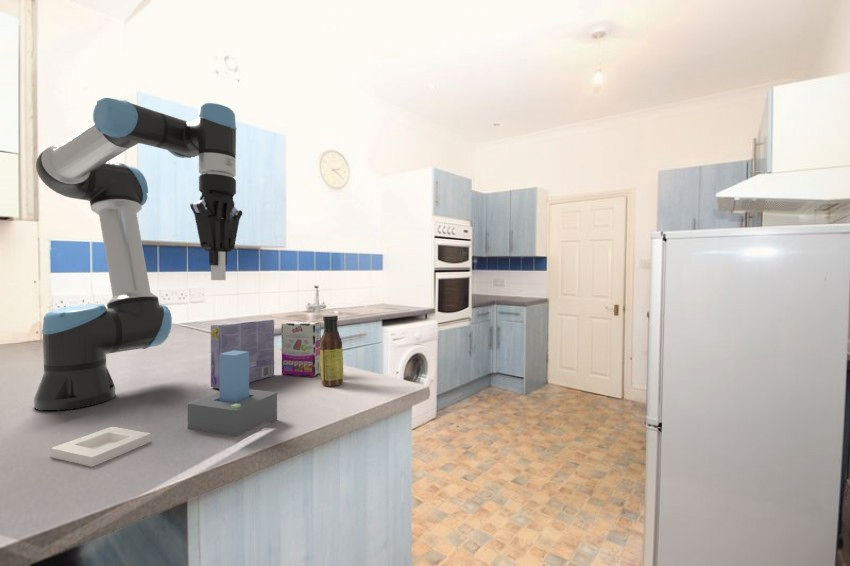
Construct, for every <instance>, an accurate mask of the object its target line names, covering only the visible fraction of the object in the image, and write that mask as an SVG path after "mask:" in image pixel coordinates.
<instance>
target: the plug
mask: <svg viewBox="0 0 850 566" xmlns="http://www.w3.org/2000/svg"><path fill="white" fill-rule="evenodd" d="M249 389H250V383H249V352H247V351H236V350H233V351H229V352H225V353H221V354H219V389H218V390H219V391H218V392H219V401H221V402H228V403H237V402H240V401H242V400H245V399H247V398H249Z"/></svg>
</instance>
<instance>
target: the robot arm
mask: <svg viewBox="0 0 850 566" xmlns="http://www.w3.org/2000/svg"><path fill="white" fill-rule="evenodd" d="M92 111H93V112H92V120H93V122H92V123H90V124H89V125H87V126H86V127H84V128H83V129H82V130H80V131H79V132H77V133H76V134H75V135H73V136H72V137H70V138H69V139H67V140H66V141H64V142H63V143H62V144H55V145H51V146H49V147H46V149H44V150H43V151H42V152H41V153H40V154H39V156H38V157H37V158H36V162H35V164H36V165H35V168H36V172H37V175H38V177H39V179H40V180H41V181H42V182H43V184H45V185H46V187H48V188H49V189H50V190H52V191H53V192H55V193H57V194H59V195H61V196H62V197H67V198H70V199H75V200H76V199H77V200H84V201H88V202H89V205H90V209H91V211H92V212H93V213H95V214H96V215H98V217H99V221H100V222H99V223H100V228H101V234H102V241H103V246H104V252H105V258H106V264H107V271H108V277H109V281H110V287H111V288H110V289H111V295H112V297H111V299H110V300H109V301H108V302H107V303H106V305H105V304H103V303H88V304H79V305H72V306H65V307H61V308H56V309H53V310H51V311H48V312H47V313H46V314H45V315H44V316H43V323H42V330H41V334H42V344H43V345H42V346H43V347H42V348H43V350H42V351H43V374H42V377H41V380H40V383H39V385H38V388H37V391H36V393H35V396H34V398H33V404H34V405H33V406H34V407H35V408H36V409H35V408H34V409H35V410H37V409H38V411H43V410H57V411H66V410H65V409H68V410H74V408H75V409H80V407H81V408H85V406H86V407H90V405H91V406H94V404H95V405H97V404H98V405H99V404H101V402H102V403H104V401H105V402H108V401H109V400H111V399H113V398H115V396H116V385H115V382H114V381H113V378H112V376H111V373H110V372H109V369H108V367H107V355H108V354H109V355H110V354H115V353H121V352H127V351H128V352H129V351H134V350H146V349H148V348H152V347H157V346H160V345H162V344H163V343H165V342H166V340H167V339H168V338H169V335H170V333H171V329H172V323H173V322H172V321H173V320H172V318H173V317H172V313H171V310H170V308H169V307H168V306H166V305H164V304H161V303H160V302H159V296H157V295H155V294H154V293H152V292H151V286H150V281H149V276H148V270H147V265H146V260H145V254H144V249H143V242H142V238H141V230H140V225H139V219H138V213H139V212H140V211H142V208H143V206H144V205H145V204H146V203H147V200H148V198H149V197H148V193H149V187H148V182H147V179H146V177H145V176H144V174H143V172H142V171H141V170H140V169H138V168H137V167H134V166H131V165H127V164H125V163H121V162H113V161H110V160H112V159H114V158H115V157H117V156H119V155H120V154H122V153H125V151H128V150H129V149H131V148H133V147H135V146H136V145H138V144H142V145H144V146H149V147H154V148H157V149H163V150H166V151H168V152H169V153H170V154H172V155H173V156H175V157H177V158H182V159H184V158H185V159H187V158H188V159H191V158H196V157H198V173H199V174H200V175H199V176H198V191H199V193H201V194H200V197H199V201H197V202H193V203H190V205H189V206H190V209H191V210H192V212H193V215H194V220H195V224H196V228H197V234H198V239H199V243H200V247H201V248H203V249H204V250H205V251H206V252H208V264H209V266H210V281H226V266H227V265H228V252H231V251H232V250H234V249H235V246H236V241H237V235H238V229H239V224H240V220H241V217H242V216H243V210H239V209H237V207H235V201H234V196H236V193H237V179H235V177H236V175H237V173H236V172H237V171H236V169H237V168H236V167H237V166H236V163H237V161H236V157H237V156H236V155H237V154H236V153H237V152H236V151H237V150H236V148H237V146H236V145H237V126H236V125H237V123H236V114H235V112H234V111H233V110H232V109H231V108H229V106H225V105H223V104H219V103H214V102H204V103H201V104H200V105H199V106H198V112H197V118H195V119H192V120H188V121H187V120H183V119H180V118H178V117H174V116H171V115H169V114H165V113H162V112H159V111H156V110H152V109H149V108H147V107H144V106H141V105H137V104H134V103H131V102H129V101H128V100H125V99H118V98H114V97H110V96H102V97H99V98H98V100H97V101H96V104H95V105H94V107H93V110H92Z"/></svg>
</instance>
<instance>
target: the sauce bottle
mask: <svg viewBox="0 0 850 566" xmlns="http://www.w3.org/2000/svg"><path fill="white" fill-rule="evenodd" d="M338 317H339V316H338V315H337V314H325V315H323V318H322V320H323V322H324V323H323V328H324V329H323V333H322V335H321V341H320V343H321V349H320V355H321V373H320V380H321V385H322V386H324V387H329V386H330V387H337V385H338V386H340V384H341V385H342V384H343V381H344V355H343V354H344V353H343V341H342V338H341V336H340V332H339V330H338V320H339V319H338Z"/></svg>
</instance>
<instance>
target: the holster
mask: <svg viewBox="0 0 850 566" xmlns="http://www.w3.org/2000/svg"><path fill="white" fill-rule="evenodd" d="M151 442H152V433H149V432H145V431H138V430H134V429H130V428H129V429H127V428H123V427H117V426H110V427H107V428H103V429H101V430H97V431H96V432H93V433H90V434H87V435H84V436H82V437H78V438H75V439H73V440H70V441H67V442H64V443H60V444H58V445H56V446H53V447H51V448H50V458H52V459H56V460H61V461H66V462H70V463H75V464H78V465H79V464H80V465H82V466H88V467H95V466H97V465H101V464H103V463H105V462H106V461H109V460H111V459H113V458H117V457H119V456H121V455H123V454H125V453H128V452H130V451H132V450H135V449H138V448H140V447H141V446H144V445H147V444H149V443H151Z"/></svg>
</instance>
